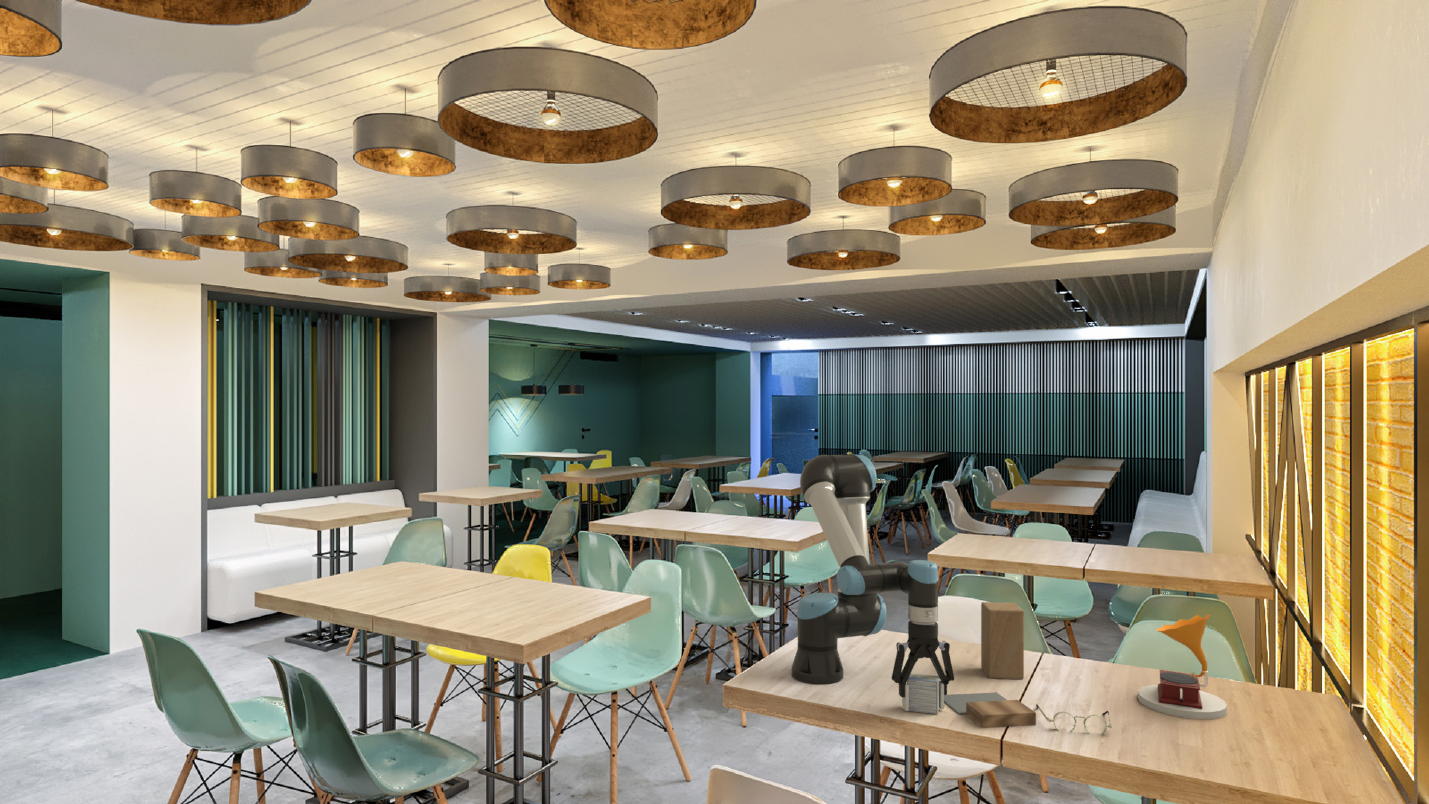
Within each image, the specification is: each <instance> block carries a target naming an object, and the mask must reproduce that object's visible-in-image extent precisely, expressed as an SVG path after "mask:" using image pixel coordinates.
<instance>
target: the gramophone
mask: <svg viewBox="0 0 1429 804" xmlns="http://www.w3.org/2000/svg"><path fill="white" fill-rule="evenodd" d="M1211 615H1212V613H1211V614H1210V613H1207V615H1206V616H1205V617H1203V616H1200V615H1198V614H1196V615H1195V616H1193V617H1191V618H1190V619H1181V618H1180V619H1178V621H1175V623H1173V624H1164V625H1163V626H1162V627H1159V628H1155V630H1157V633H1160V634H1164V635H1165V636H1167V637H1168V638H1170V639H1172V640H1174V641H1175V642H1177V643H1180V644H1182V645H1183V646H1185V647H1187V649H1189V650H1190V651H1191V652H1192V653H1193V655H1194V656H1195V657H1196V659H1197V660H1198V662H1199V663H1200V665H1201V669H1200V673H1199V674H1195V672H1192V673H1186V672H1180V671H1173V670H1166V669H1159V681H1160V682H1159V683H1157V684H1152V685H1151V684H1150V685H1145V686H1142V687H1140V688H1139V689H1138V690H1137V699H1138V700H1139V703H1140V704H1142V705H1143V706H1144V707H1146V708H1149V709H1151V710H1153V711H1156V712H1159V713H1161V714H1165V715H1168V716H1169V715H1170V716H1173V717H1178V718H1185V719H1193V720H1216V719H1221V718H1223V717H1225V716H1226V715H1227V712H1228V704H1227V702H1225V700H1224V699H1222V698H1220V697H1219V696H1217V695H1214V694H1212V693H1209V692H1206V691H1203V690H1201V688H1206V687H1207V686H1208V684H1209V671H1208V663H1207V662H1208V661H1207V659H1206V655H1205V653H1204V650H1203V647H1202V639H1203V636H1204V633H1205V629H1206V625H1207V621H1208V619H1210V617H1211ZM1201 677H1203V681H1204V683H1201V682H1199V678H1201Z"/></svg>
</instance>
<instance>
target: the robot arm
mask: <svg viewBox="0 0 1429 804" xmlns="http://www.w3.org/2000/svg"><path fill="white" fill-rule="evenodd" d="M877 477H878V476H877V472H876V468H875V465H874V464H873V462H872V461H871V460H870V458H869V457H867V456H866V455H863V454H853V453H851V454H850V453H849V454H821V455H820V454H819V455H817V456H815V457H813V458H811V459H810V460H809V461H808V462H807V463H806V464H805V465H804V467H803V469H802V472H801V474H800V479H799V480H800V481H799V486H800V491H801V494H802V496H803V499H804V501H805V503H807V504H809V505H810V506H811V508H812V511H813V512H814V515H815V517H816V519H817V521H818V523H819V526H820V528H821V530H822V532H823V534H824V537H825V538H826V540H827V543H828V545H829V547H830V549H831V552H832V554H833V556H834V559H835V560H836V563H837V565H838V566H839V568H838V570H837V573H836V581H837V587H838V589H837V594H835V593H834V592H833V593H832V592H827V591H826V592H825V591H824V592H813V593H809V594H807V595H804V596H801V598H800V599H799V601H798V603H797V612H796V615H797V647H796V648H797V649H796V652H795V656H794V658H793V660H792V661H793V662H792V665H791V676H792V677H793V678H794V680H797V681H801V682H804V683H808V684H816V685H817V684H818V685H819V684H821V685H822V684H823V685H825V684H826V685H827V684H834V683H837V682H839V681H842V680H843V679H844V667H843V662H842V661H841V657H840V653H839V650H838V642H839V641H838V639H844V638H845V639H846V638H853V637H855V638H856V637H868V636H871V635H876V634H878V633H880V632H881V630H882V629H883V627H884V626H885V623H886V620H887V607H886V603H885V600H884V598H883V597H882V596H881V595H880V594H878V593H890V592H891V593H893V592H902V593H905V594H908V596H907V597H908V599H907V600H908V601H907V606H908V607H907V609H908V610H907V618H908V626H907V630H908V631H907V632H908V633H907V635H908V638H907V641H906V642H902V643H901V642H896V644H895V645H896V654H895V659H894V663H893V670H892V673H891V680H892V681H893V682H894V683H895V684H898V695H899V696H900V698H901V708H902V709H903V710H904V711H905V712H910V711H909V685H907V680H908V678H909V676H910V674H911V673H912V671H913V669H914V667H915V665H916V663H917V662H918V660H919V659H924V658H925V659H929V660H930V661H931V664H932V666H933V668H934V670H935V672H936V674H937V676H938V677H939V710H940V709H941V710H944V709H945V702H944V695H948V685H949V684H950V681H952V682H954V680H955V673H954V670H953V669H954V668H953V665H952V660H951V656H950V647H951V646H950V645H951V644H950V643H948V641H945V640H942V641H939V624H938V620H939V579H940V578H939V573H938V571H939V570H938V569H939V567H938V565H937V564H936V562H934V561H931V560H924V559H915V560H910V561H909V562H908V563H906V562H904V561H902V560H896V559H895V560H893V559H891V560H887V561H885V562H883V563H876V564H874V563H873V564H870V563H871V562H870V552H869V550H870V548H869V536H868V533H869V532H868V521H867V510H866V509H867V508H866V504H867V502H868V501H869V500H870V498H871V494H870V493H871V492H873V491H874V490H875V488H876V484H877V480H878V478H877ZM907 649H909V653H908V656H907V660H906V661H905V655H906V654H905V653H906V652H907V651H908V650H907ZM938 649H940V653H941V658H942V661H943V667H944V670H943V667H942V665H941V663H940V661H939V658H938V655H937V653H936V651H937V650H938ZM904 662H905V664H904ZM903 665H904V666H903Z"/></svg>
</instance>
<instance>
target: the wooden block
mask: <svg viewBox="0 0 1429 804" xmlns="http://www.w3.org/2000/svg"><path fill="white" fill-rule="evenodd" d="M980 604H981V605H980V610H981V611H980V612H981V613H980V616H981V617H980V618H981V619H980V622H981V623H980V624H981V625H980V627H981V628H980V639H981V640H980V643H981V644H980V647H981V648H980V655H981V657H980V658H981V659H980V661H981V663H980V666H981V669H982V670H983V671H984V673H985V674H986V676H987V677H988V678H989V679H1000V680H1001V679H1002V680H1004V679H1005V680H1008V679H1009V680H1024V679H1025V678H1024V677H1025V676H1024V674H1025V673H1024V672H1025V671H1024V670H1025V668H1024V667H1025V663H1024V661H1025V657H1024V656H1025V653H1024V651H1025V643H1024V641H1025V640H1024V639H1025V634H1024V633H1025V632H1024V631H1025V630H1024V629H1025V624H1024V623H1025V622H1024V621H1025V619H1024V618H1025V617H1024V615H1025V614H1024V612H1025V611H1024V610H1023V609H1022V608H1021V607H1020V606H1018V605H1017V604H1016V603H1015V602H994V601H993V602H990V601H988V602H987V601H982V602H981V603H980Z"/></svg>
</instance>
